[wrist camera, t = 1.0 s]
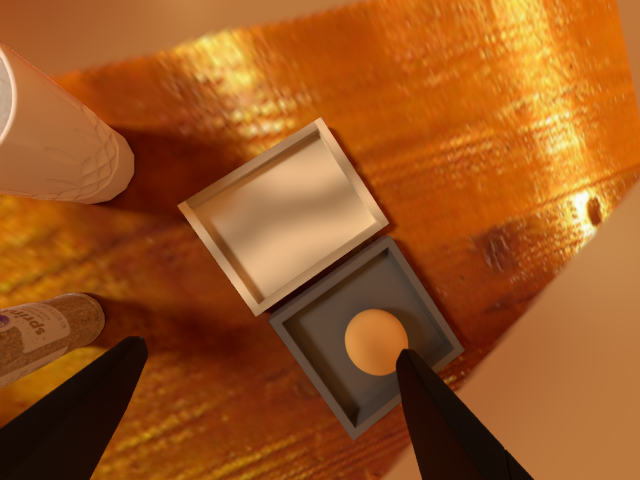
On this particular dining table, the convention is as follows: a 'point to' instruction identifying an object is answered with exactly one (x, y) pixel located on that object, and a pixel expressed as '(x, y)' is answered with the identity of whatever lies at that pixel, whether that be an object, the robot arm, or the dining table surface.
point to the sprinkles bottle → (45, 332)
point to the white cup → (55, 141)
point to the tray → (284, 215)
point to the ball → (375, 341)
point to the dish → (334, 317)
